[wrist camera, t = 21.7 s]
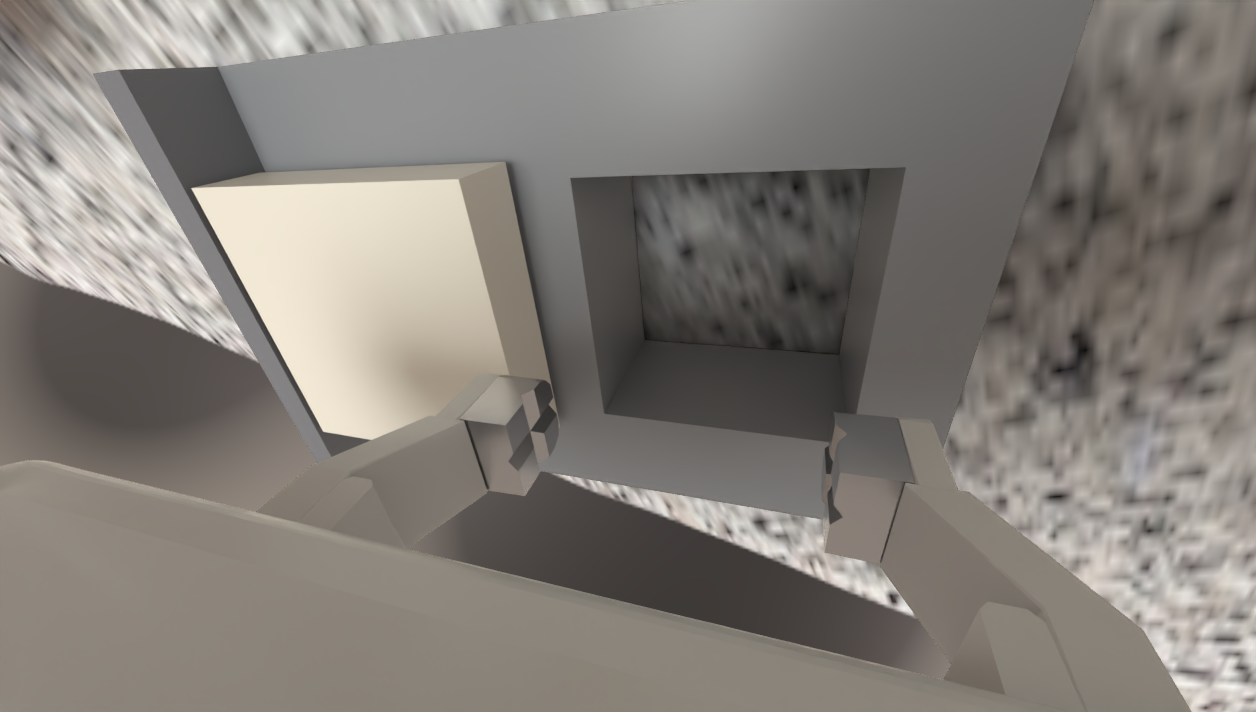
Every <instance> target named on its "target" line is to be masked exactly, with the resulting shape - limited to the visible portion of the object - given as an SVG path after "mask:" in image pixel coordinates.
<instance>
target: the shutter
mask: <svg viewBox="0 0 1256 712" xmlns="http://www.w3.org/2000/svg"><path fill="white" fill-rule="evenodd" d="M191 189H192V191H193V192H194V194H195V196H196V198H197V200H198V202H199V203H200V205H201V207H202V209H203V211H204V213H205V215H206V216H207V218H208V220H209V222H210V224H211V226H212V227H213V229H214V231H215V233H216V235H217V237H218V238H219V240H220V242H221V244H222V246H223V248H224V250H225V251H226V253H227V255H228V257H229V259H230V261H231V262H232V264H233V266H234V268H235V270H236V272H237V274H238V275H239V277H240V279H241V281H242V283H243V285H244V286H245V288H246V290H247V292H248V294H249V296H250V298H251V299H252V301H253V303H254V305H255V307H256V309H257V310H258V312H259V314H260V316H261V318H262V320H263V322H264V323H265V325H266V327H267V329H268V331H269V333H270V334H271V336H272V338H273V340H274V342H275V344H276V345H277V347H278V349H279V351H280V353H281V355H282V357H283V358H284V360H285V362H286V364H287V366H288V368H289V369H290V371H291V373H292V375H293V377H294V379H295V381H296V382H297V384H298V386H299V388H300V390H301V392H302V393H303V395H304V397H305V399H306V401H307V403H308V405H309V406H310V408H311V410H312V412H313V414H314V416H315V417H316V419H317V421H318V423H319V425H320V427H321V429H322V430H323V432H328V433H334V434H340V435H346V436H351V437H357V438H363V439H369V440H373V439H375V438H378V437H380V436H382V435H385V434H387V433H389V432H392V431H394V430H397V429H399V428H401V427H404V426H406V425H408V424H411V423H413V422H416V421H418V420H420V419H423V418H425V417H427V416H435V417H436V416H437V415H438V414H439V413H440V412H441V411H442V410H443V409H444V408H445V407H446V406H447V405H448V404H449V403H450V402H451V401H452V400H453V399H454V398H455V397H456V396H457V395H458V394H459V393H460V392H461V391H462V390H463V389H464V388H465V387H466V386H467V385H468V384H469V383H470V382H471V381H472V380H473V379H474V378H475V377H476V376H477V375H478V374H482V373H491V374H500V375H509V376H517V377H525V378H532V379H540V380H546V381H547V382H548V383H549V384H550V385H551V380H550V375H549V370H548V366H547V361H546V356H545V351H544V346H543V341H542V337H541V332H540V327H539V322H538V317H537V312H536V308H535V303H534V298H533V293H532V288H531V284H530V279H529V274H528V269H527V264H526V259H525V255H524V250H523V245H522V240H521V235H520V230H519V226H518V221H517V216H516V211H515V206H514V202H513V197H512V192H511V187H510V182H509V177H508V173H507V168H506V163H505V162H487V163H464V164H442V165H420V166H397V167H375V168H352V169H330V170H307V171H285V172H262V173H256V174H251V175H247V176H242V177H238V178H233V179H229V180H225V181H220V182H216V183H211V184H207V185H202V186H198V187H194V188H191ZM551 389H552V385H551ZM552 393H553V390H552ZM549 406H550V407H551V408H552V409H553V410H554V411H555V412H556V414H557V409H556V404H555V399H554V394H553V399H552V400H551V402H550V403H549ZM557 417H558V414H557ZM558 422H559V419H558ZM559 427H560V423H559Z"/></svg>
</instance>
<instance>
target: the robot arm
mask: <svg viewBox="0 0 1256 712" xmlns="http://www.w3.org/2000/svg"><path fill="white" fill-rule="evenodd" d="M552 399H553V393H552V389H551V385H550V384H549V383H548V382H547V381H546V380H540V379H532V378H525V377H517V376H509V375H500V374H491V373H482V374H478V375H477V376H476V377H475V378H474V379H473V380H472V381H471V382H470V383H469V384H468V385H467V386H466V387H465V388H464V389H463V390H462V391H461V392H460V393H459V394H458V395H457V396H456V397H455V398H454V399H453V400H452V401H451V402H450V403H449V404H448V405H447V406H446V407H445V408H444V409H443V410H442V411H441V412H440V413H439V414H438V415H437V416H436V417H435V416H427V417H425V418H423V419H420V420H418V421H416V422H413V423H411V424H408V425H406V426H404V427H401V428H399V429H397V430H394V431H392V432H389V433H387V434H385V435H382V436H380V437H378V438H375V439H373V440H371V441H368V442H366V443H363V444H361V445H359V446H356V447H354V448H352V449H349V450H347V451H344V452H342V453H340V454H337V455H335V456H333V457H330V458H328V459H325V460H323V461H321V462H318V463H316V464H314V465H311V466H310V467H309V468H308V469H307V470H305V471H304V472H303V473H302V474H300V475H299V476H298V477H297V478H296V479H294V480H293V481H292V482H291V483H290V484H289V485H287V486H286V487H285V488H284V489H283V490H281V491H280V492H279V493H278V494H277V495H275V496H274V497H273V498H272V499H271V500H270V501H268V502H267V503H266V504H265V505H264V506H263V507H261V508H260V509H259V510H258V511H256V512H253V511H250V510H245V509H241V508H237V507H233V506H229V505H224V504H221V503H217V502H212V501H208V500H204V499H200V498H196V497H192V496H188V495H184V494H180V493H175V492H171V491H168V490H163V489H159V488H155V487H151V486H147V485H143V484H138V483H134V482H130V481H126V480H122V479H118V478H114V477H110V476H106V475H102V474H97V473H93V472H89V471H85V470H81V469H77V468H73V467H70V466H66V465H63V464H59V463H55V462H49V461H43V460H28V461H22V462H17V463H12V464H8V465H4V466H0V712H1191V710H1190V708H1189V707H1188V705H1187V703H1186V701H1185V700H1184V698H1183V696H1182V695H1181V693H1180V691H1179V690H1178V688H1177V686H1176V685H1175V683H1174V681H1173V680H1172V678H1171V676H1170V675H1169V673H1168V671H1167V669H1166V668H1165V666H1164V664H1163V663H1162V661H1161V659H1160V658H1159V656H1158V654H1157V653H1156V651H1155V649H1154V648H1153V646H1152V644H1151V643H1150V641H1149V639H1148V637H1147V636H1146V634H1145V632H1144V631H1143V630H1142V629H1141V628H1140V627H1139V626H1137V625H1136V624H1135V623H1134V622H1132V621H1131V620H1130V619H1129V618H1127V617H1126V616H1125V615H1124V614H1122V613H1121V612H1120V611H1119V610H1117V609H1116V608H1115V607H1113V606H1112V605H1111V604H1110V603H1108V602H1107V601H1106V600H1105V599H1103V598H1102V597H1101V596H1100V595H1098V594H1097V593H1096V592H1095V591H1093V590H1092V589H1091V588H1089V587H1088V586H1087V585H1086V584H1084V583H1083V582H1082V581H1081V580H1079V579H1078V578H1077V577H1076V576H1074V575H1073V574H1072V573H1071V572H1069V571H1068V570H1067V569H1065V568H1064V567H1063V566H1062V565H1060V564H1059V563H1058V562H1057V561H1055V560H1054V559H1053V558H1052V557H1050V556H1049V555H1048V554H1047V553H1045V552H1044V551H1043V550H1042V549H1040V548H1039V547H1038V546H1036V545H1035V544H1034V543H1033V542H1031V541H1030V540H1029V539H1028V538H1026V537H1025V536H1024V535H1023V534H1021V533H1020V532H1019V531H1018V530H1016V529H1015V528H1014V527H1012V526H1011V525H1010V524H1009V523H1007V522H1006V521H1005V520H1004V519H1002V518H1001V517H1000V516H999V515H997V514H996V513H995V512H994V511H992V510H991V509H990V508H989V507H987V506H986V505H985V504H983V503H982V502H981V501H980V500H978V499H977V498H976V497H975V496H973V495H972V494H971V493H970V492H964V491H958V489H957V486H956V483H955V480H954V478H953V475H952V472H951V470H950V467H949V464H948V462H947V459H946V456H945V454H944V451H943V448H942V445H941V443H940V440H939V437H938V435H937V432H936V429H935V427H934V424H933V423H932V422H931V421H930V420H929V419H919V418H906V417H895V418H894V417H884V416H874V415H864V414H855V413H845V412H835V411H832V413H831V416H830V421H829V426H828V438H829V446H827V447H826V448H825V450H824V457H823V465H822V475H821V495H822V501H823V502H824V503H825V510H824V515H823V534H824V551H825V553H830V554H835V555H840V556H844V557H849V558H854V559H858V560H863V561H868V562H872V563H877V564H881V565H880V567H881V569H882V570H883V571H884V573H885V574H886V575H887V577H888V578H889V580H890V581H891V582H892V584H893V585H894V586H895V588H896V589H897V591H898V592H899V593H900V595H901V596H902V597H903V599H904V600H905V602H906V603H907V604H908V606H909V607H910V608H911V610H912V611H913V613H914V614H915V615H916V617H917V618H918V620H919V621H920V622H921V623H922V625H923V626H924V628H925V629H926V630H927V632H928V633H929V635H930V636H931V637H932V639H933V640H934V642H935V643H936V644H937V646H938V647H939V648H940V650H941V651H942V653H943V654H944V655H945V657H946V658H947V659H948V661H949V662H950V664H951V665H950V667H949V669H948V671H947V673H946V675H945V677H944V679H943V680H942V679H938V678H934V677H930V676H926V675H922V674H917V673H913V672H909V671H905V670H901V669H897V668H893V667H889V666H884V665H881V664H876V663H872V662H868V661H864V660H860V659H856V658H852V657H848V656H844V655H840V654H836V653H831V652H827V651H823V650H819V649H815V648H811V647H807V646H803V645H798V644H794V643H790V642H786V641H782V640H778V639H774V638H770V637H765V636H761V635H757V634H753V633H749V632H745V631H741V630H736V629H732V628H728V627H724V626H720V625H716V624H712V623H708V622H704V621H700V620H696V619H692V618H687V617H683V616H679V615H675V614H671V613H666V612H662V611H659V610H654V609H650V608H646V607H642V606H638V605H634V604H629V603H626V602H622V601H618V600H614V599H610V598H606V597H601V596H597V595H593V594H589V593H585V592H581V591H577V590H573V589H569V588H565V587H561V586H557V585H552V584H548V583H544V582H540V581H536V580H532V579H528V578H524V577H520V576H516V575H512V574H507V573H503V572H499V571H495V570H491V569H487V568H483V567H479V566H475V565H471V564H466V563H462V562H458V561H454V560H450V559H446V558H442V557H438V556H434V555H430V554H426V553H422V552H418V551H413V550H409V549H407V548H409V547H410V546H412V545H413V544H415V543H416V542H417V541H419V540H420V539H422V538H423V537H425V536H426V535H427V534H429V533H430V532H432V531H433V530H435V529H436V528H437V527H439V526H440V525H442V524H443V523H444V522H446V521H447V520H449V519H450V518H452V517H453V516H454V515H456V514H457V513H459V512H460V511H462V510H463V509H465V508H466V507H467V506H469V505H470V504H472V503H473V502H475V501H476V500H478V499H479V498H480V497H482V496H483V495H485V494H486V493H487V492H488V491H487V490H490V491H496V492H503V493H509V494H516V495H522V496H525V495H526V494H527V492H528V490H529V489H530V487H531V486H532V484H533V482H534V481H535V479H536V478H537V476H538V475H539V473H540V471H539V466H538V463H540V462H542V461H543V460H545V459H547V458H549V457H550V455H551V453H552V452H553V450H554V448H555V446H556V442H557V438H558V435H559V422H558V417H557V414H556V412H555V411H554V410H553V409H552V408H551V407H550V406H549V403H550V402H551V400H552Z"/></svg>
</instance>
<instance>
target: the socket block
mask: <svg viewBox="0 0 1256 712" xmlns="http://www.w3.org/2000/svg"><path fill="white" fill-rule="evenodd" d="M1093 2H1094V0H689V1H682V2H675V3H668V4H661V5H654V6H647V7H640V8H632V9H625V10H618V11H611V12H604V13H597V14H590V15H583V16H576V17H569V18H562V19H554V20H547V21H540V22H533V23H526V24H519V25H512V26H505V27H498V28H491V29H484V30H476V31H469V32H462V33H455V34H448V35H441V36H434V37H427V38H420V39H413V40H406V41H399V42H391V43H384V44H377V45H370V46H363V47H356V48H349V49H342V50H335V51H328V52H321V53H313V54H306V55H299V56H292V57H285V58H278V59H271V60H264V61H257V62H250V63H243V64H235V65H228V66H221V67H201V68H167V69H133V70H115V71H108V72H102V73H95V74H93V75H94V77H95V79H96V80H97V82H98V84H99V86H100V87H101V89H102V91H103V92H104V94H105V96H106V98H107V99H108V101H109V103H110V105H111V106H112V108H113V110H114V112H115V113H116V115H117V117H118V118H119V120H120V122H121V124H122V125H123V127H124V129H125V131H126V132H127V134H128V136H129V138H130V139H131V141H132V143H133V145H134V146H135V148H136V150H137V151H138V153H139V155H140V157H141V158H142V160H143V162H144V164H145V165H146V167H147V169H148V171H149V172H150V174H151V176H152V178H153V179H154V181H155V183H156V184H157V186H158V188H159V190H160V191H161V193H162V195H163V197H164V198H165V200H166V202H167V204H168V205H169V207H170V209H171V210H172V212H173V214H174V216H175V217H176V219H177V221H178V223H179V224H180V226H181V228H182V230H183V231H184V233H185V235H186V237H187V238H188V240H189V242H190V243H191V245H192V247H193V249H194V250H195V252H196V254H197V256H198V257H199V259H200V261H201V263H202V264H203V266H204V268H205V269H206V271H207V273H208V275H209V276H210V278H211V280H212V282H213V283H214V285H215V287H216V289H217V290H218V292H219V294H220V296H221V297H222V299H223V301H224V302H225V304H226V306H227V308H228V309H229V311H230V313H231V315H232V316H233V318H234V320H235V322H236V323H237V325H238V327H239V328H240V330H241V332H242V334H243V335H244V337H245V339H246V341H247V342H248V344H249V346H250V348H251V349H252V351H253V353H254V355H255V356H256V358H257V360H258V361H259V363H260V365H261V367H262V368H263V370H264V372H265V374H266V375H267V377H268V379H269V380H270V382H271V384H272V386H273V387H274V389H275V391H276V393H277V394H278V396H279V398H280V400H281V401H282V403H283V405H284V407H285V408H286V410H287V412H288V414H289V415H290V417H291V419H292V420H293V422H294V424H295V426H296V427H297V429H298V431H299V433H300V434H301V436H302V438H303V440H304V441H305V443H306V445H307V447H308V448H309V450H310V452H311V453H312V455H313V457H314V459H315V460H316V462H317V463H318V462H321V461H323V460H325V459H328V458H330V457H333V456H335V455H337V454H340V453H342V452H344V451H347V450H349V449H352V448H354V447H356V446H359V445H361V444H363V443H366V442H368V441H371V440H369V439H363V438H357V437H351V436H346V435H340V434H334V433H328V432H323V430H322V429H321V427H320V425H319V423H318V421H317V419H316V417H315V416H314V414H313V412H312V410H311V408H310V406H309V405H308V403H307V401H306V399H305V397H304V395H303V393H302V392H301V390H300V388H299V386H298V384H297V382H296V381H295V379H294V377H293V375H292V373H291V371H290V369H289V368H288V366H287V364H286V362H285V360H284V358H283V357H282V355H281V353H280V351H279V349H278V347H277V345H276V344H275V342H274V340H273V338H272V336H271V334H270V333H269V331H268V329H267V327H266V325H265V323H264V322H263V320H262V318H261V316H260V314H259V312H258V310H257V309H256V307H255V305H254V303H253V301H252V299H251V298H250V296H249V294H248V292H247V290H246V288H245V286H244V285H243V283H242V281H241V279H240V277H239V275H238V274H237V272H236V270H235V268H234V266H233V264H232V262H231V261H230V259H229V257H228V255H227V253H226V251H225V250H224V248H223V246H222V244H221V242H220V240H219V238H218V237H217V235H216V233H215V231H214V229H213V227H212V226H211V224H210V222H209V220H208V218H207V216H206V215H205V213H204V211H203V209H202V207H201V205H200V203H199V202H198V200H197V198H196V196H195V194H194V192H193V191H192V189H191V188H194V187H198V186H202V185H207V184H211V183H216V182H220V181H225V180H229V179H233V178H238V177H242V176H247V175H251V174H256V173H262V172H285V171H307V170H330V169H352V168H375V167H397V166H420V165H442V164H464V163H487V162H505V163H506V168H507V173H508V177H509V182H510V187H511V192H512V197H513V202H514V206H515V211H516V216H517V221H518V226H519V230H520V235H521V240H522V245H523V250H524V255H525V259H526V264H527V269H528V274H529V279H530V284H531V288H532V293H533V298H534V303H535V308H536V312H537V317H538V322H539V327H540V332H541V337H542V341H543V346H544V351H545V356H546V361H547V366H548V370H549V375H550V380H551V385H552V390H553V394H554V399H555V404H556V409H557V414H558V419H559V423H560V427H559V435H558V438H557V442H556V446H555V448H554V450H553V452H552V453H551V455H550V457H549V458H547V459H545V460H543V461H542V462H540V463H538V466H539V471H544V472H550V473H556V474H561V475H567V476H573V477H579V478H585V479H590V480H596V481H602V482H608V483H614V484H619V485H625V486H631V487H637V488H643V489H649V490H654V491H660V492H666V493H672V494H678V495H683V496H689V497H695V498H701V499H707V500H712V501H718V502H724V503H730V504H736V505H741V506H747V507H753V508H759V509H765V510H771V511H776V512H782V513H788V514H794V515H800V516H805V517H811V518H817V519H823V515H824V510H825V503H824V502H823V501H822V495H821V475H822V465H823V457H824V450H825V448H826V447H827V446H829V438H828V426H829V421H830V416H831V413H832V411H835V412H845V413H855V414H864V415H874V416H884V417H894V418H895V417H906V418H919V419H929V420H930V421H931V422H932V423H933V424H934V427H935V429H936V432H937V435H938V437H939V440H940V443H941V445H942V448H943V447H944V444H945V441H946V438H947V435H948V432H949V429H950V426H951V423H952V420H953V417H954V414H955V411H956V408H957V405H958V402H959V399H960V396H961V394H962V391H963V388H964V385H965V382H966V379H967V376H968V373H969V370H970V367H971V364H972V361H973V358H974V355H975V352H976V349H977V346H978V343H979V340H980V337H981V334H982V331H983V328H984V325H985V322H986V319H987V316H988V314H989V311H990V308H991V305H992V302H993V299H994V296H995V293H996V290H997V287H998V284H999V281H1000V278H1001V275H1002V272H1003V269H1004V266H1005V263H1006V260H1007V257H1008V254H1009V251H1010V248H1011V245H1012V242H1013V239H1014V236H1015V234H1016V231H1017V228H1018V225H1019V222H1020V219H1021V216H1022V213H1023V210H1024V207H1025V204H1026V201H1027V198H1028V195H1029V192H1030V189H1031V186H1032V183H1033V180H1034V177H1035V174H1036V171H1037V168H1038V165H1039V162H1040V159H1041V157H1042V154H1043V151H1044V148H1045V145H1046V142H1047V139H1048V136H1049V133H1050V130H1051V127H1052V124H1053V121H1054V118H1055V115H1056V112H1057V109H1058V106H1059V103H1060V100H1061V97H1062V94H1063V91H1064V88H1065V85H1066V82H1067V79H1068V77H1069V74H1070V71H1071V68H1072V65H1073V62H1074V59H1075V56H1076V53H1077V50H1078V47H1079V44H1080V41H1081V38H1082V35H1083V32H1084V29H1085V26H1086V23H1087V20H1088V17H1089V14H1090V11H1091V8H1092V5H1093ZM867 168H870V173H869V179H868V185H867V191H866V197H865V203H864V209H863V215H862V221H861V227H860V233H859V239H858V245H857V251H856V257H855V263H854V269H853V275H852V281H851V287H850V293H849V300H848V306H847V312H846V318H845V324H844V330H843V336H842V342H841V348H840V354H839V355H836V354H822V353H809V352H796V351H783V350H769V349H756V348H743V347H730V346H716V345H703V344H690V343H677V342H663V341H650V340H644V329H643V317H642V304H641V292H640V279H639V267H638V254H637V242H636V229H635V217H634V204H633V192H632V179H631V176H645V175H676V174H708V173H740V172H772V171H803V170H835V169H867Z"/></svg>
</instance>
